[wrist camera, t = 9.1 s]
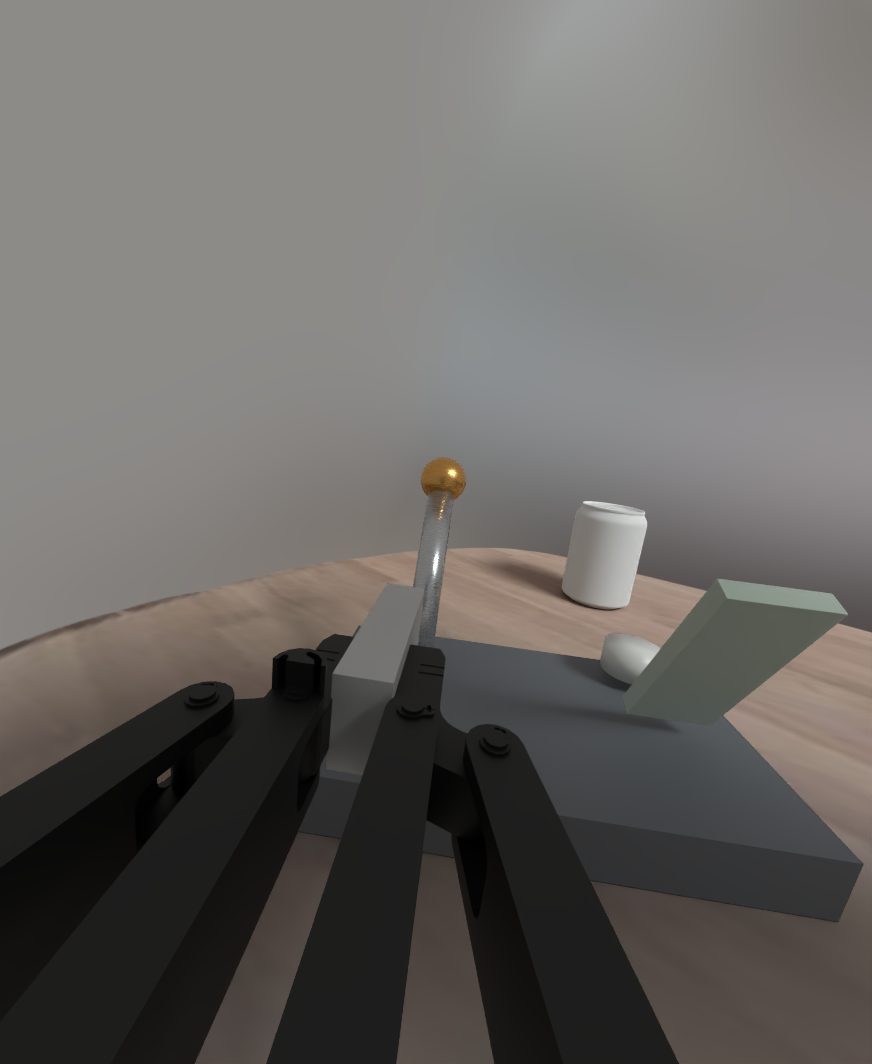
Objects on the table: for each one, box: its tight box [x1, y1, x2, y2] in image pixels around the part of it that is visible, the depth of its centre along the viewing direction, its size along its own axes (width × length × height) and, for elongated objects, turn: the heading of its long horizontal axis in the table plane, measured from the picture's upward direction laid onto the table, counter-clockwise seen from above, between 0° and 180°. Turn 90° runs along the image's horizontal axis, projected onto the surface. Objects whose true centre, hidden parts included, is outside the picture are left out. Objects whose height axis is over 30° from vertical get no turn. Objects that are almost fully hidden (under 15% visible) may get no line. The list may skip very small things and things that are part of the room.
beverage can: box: [562, 501, 647, 609], centre depth 51 cm, size 8×8×12 cm
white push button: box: [600, 633, 660, 684], centre depth 27 cm, size 4×4×2 cm
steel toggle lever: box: [413, 457, 466, 648], centre depth 27 cm, size 3×3×14 cm
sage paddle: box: [623, 579, 848, 726], centre depth 19 cm, size 4×1×10 cm, turn 86°
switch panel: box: [298, 626, 863, 922], centre depth 24 cm, size 24×14×3 cm, turn 86°
